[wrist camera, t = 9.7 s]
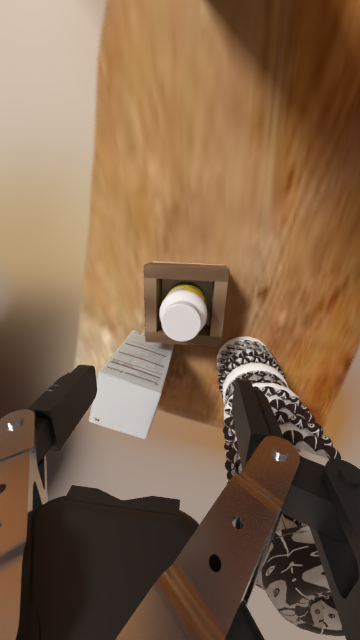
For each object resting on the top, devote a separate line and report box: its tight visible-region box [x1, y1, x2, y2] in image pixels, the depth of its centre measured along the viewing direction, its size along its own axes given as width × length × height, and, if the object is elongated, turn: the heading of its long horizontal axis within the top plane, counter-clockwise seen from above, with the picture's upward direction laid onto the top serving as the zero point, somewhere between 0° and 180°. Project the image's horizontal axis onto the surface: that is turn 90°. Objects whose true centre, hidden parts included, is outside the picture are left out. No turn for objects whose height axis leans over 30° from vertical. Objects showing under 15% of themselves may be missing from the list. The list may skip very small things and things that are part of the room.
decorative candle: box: [217, 336, 345, 636], centre depth 22 cm, size 9×9×25 cm
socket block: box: [144, 262, 229, 347], centre depth 29 cm, size 10×10×6 cm
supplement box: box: [89, 330, 174, 439], centre depth 30 cm, size 7×7×13 cm
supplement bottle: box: [159, 282, 207, 342], centre depth 26 cm, size 5×5×10 cm
